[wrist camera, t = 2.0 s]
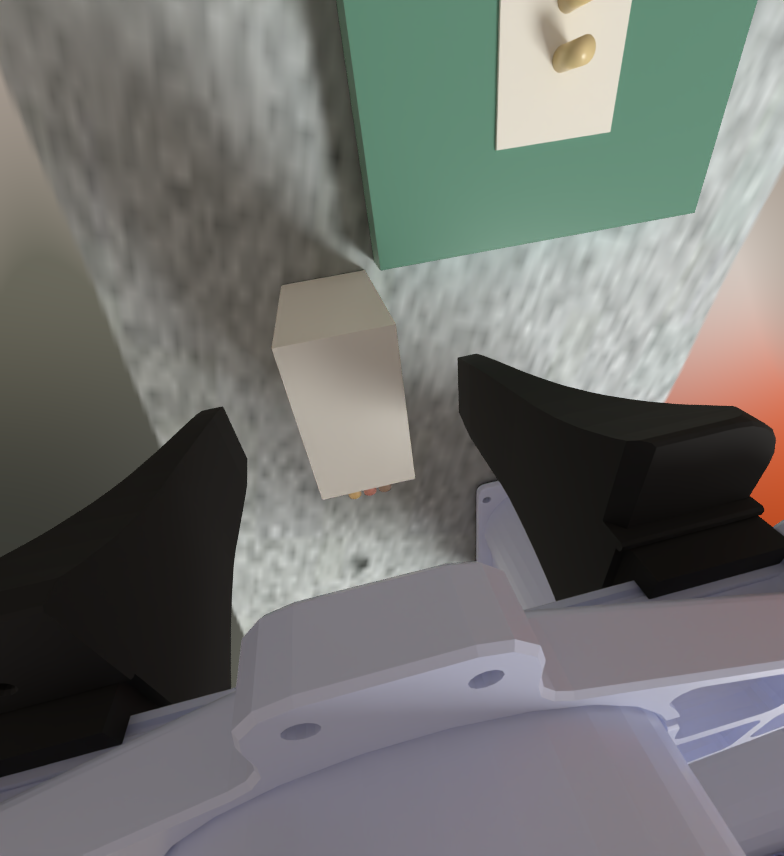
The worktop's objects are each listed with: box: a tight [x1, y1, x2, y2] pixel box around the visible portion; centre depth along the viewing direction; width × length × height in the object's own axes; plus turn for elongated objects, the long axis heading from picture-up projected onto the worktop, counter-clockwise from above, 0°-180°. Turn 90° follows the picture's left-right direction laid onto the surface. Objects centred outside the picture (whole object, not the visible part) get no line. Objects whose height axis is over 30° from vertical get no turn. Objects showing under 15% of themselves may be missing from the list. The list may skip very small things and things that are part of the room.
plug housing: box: [271, 270, 415, 500], centre depth 14 cm, size 7×3×6 cm, turn 7°
